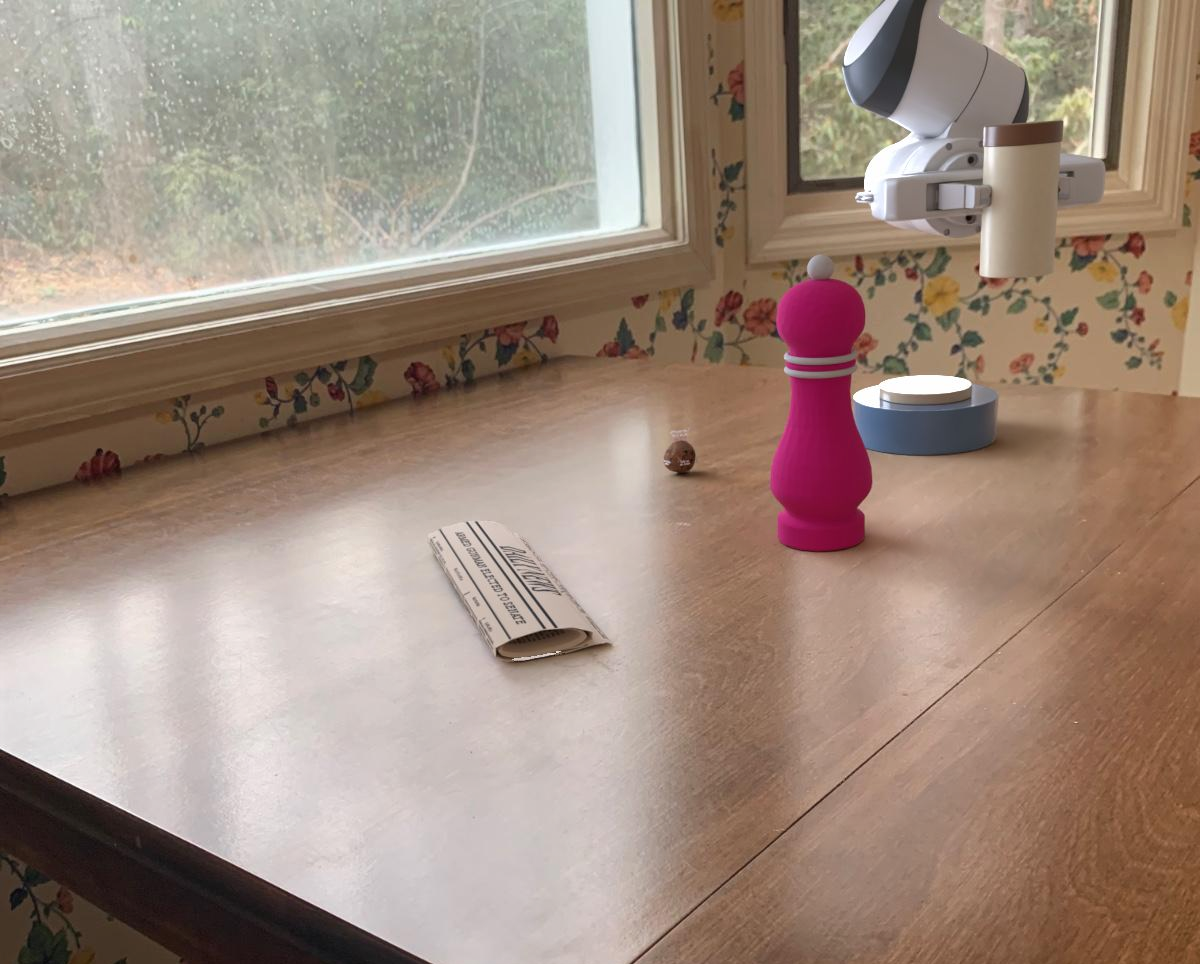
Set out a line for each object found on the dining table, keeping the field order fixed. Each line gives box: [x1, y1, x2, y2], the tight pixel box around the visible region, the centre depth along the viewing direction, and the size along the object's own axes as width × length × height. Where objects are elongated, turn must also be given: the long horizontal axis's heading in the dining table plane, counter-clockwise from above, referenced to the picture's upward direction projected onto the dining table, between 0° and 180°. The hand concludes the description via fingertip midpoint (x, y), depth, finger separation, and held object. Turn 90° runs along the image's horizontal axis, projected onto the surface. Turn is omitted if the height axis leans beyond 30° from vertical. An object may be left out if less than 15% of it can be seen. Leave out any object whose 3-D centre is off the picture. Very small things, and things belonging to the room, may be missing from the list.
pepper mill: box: [769, 254, 873, 552], centre depth 85 cm, size 7×7×20 cm
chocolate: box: [662, 427, 699, 474], centre depth 106 cm, size 3×2×4 cm
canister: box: [979, 119, 1064, 279], centre depth 101 cm, size 6×6×12 cm
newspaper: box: [427, 519, 612, 663], centre depth 82 cm, size 24×7×2 cm, turn 17°
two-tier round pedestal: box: [852, 375, 1000, 456], centre depth 112 cm, size 13×13×5 cm
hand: (1025, 192), depth 100 cm, fingers closed on canister, 6 cm apart
